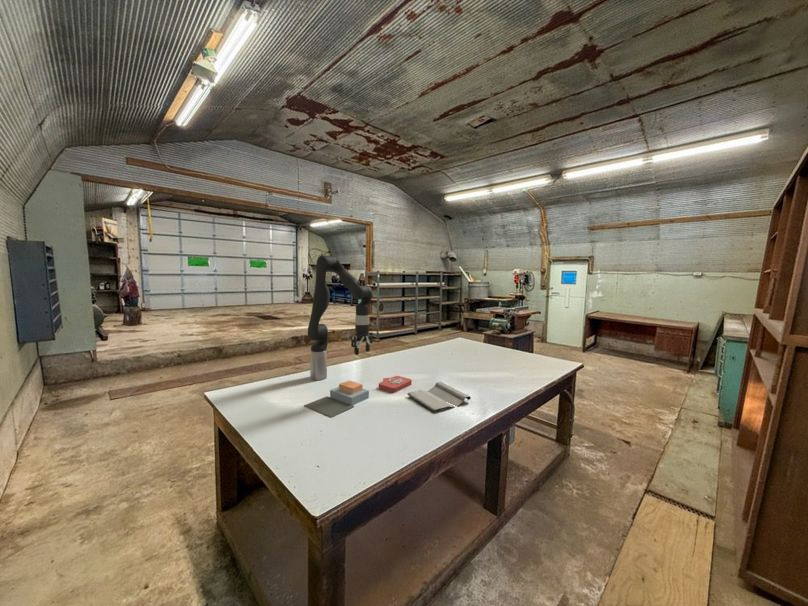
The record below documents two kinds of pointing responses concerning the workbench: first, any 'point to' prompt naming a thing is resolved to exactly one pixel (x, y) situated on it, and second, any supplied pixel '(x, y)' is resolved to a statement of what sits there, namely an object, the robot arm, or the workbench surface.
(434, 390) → the mat
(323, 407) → the pad
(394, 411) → the workbench surface
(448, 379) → the workbench surface
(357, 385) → the orange block
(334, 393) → the block
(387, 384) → the red flat case
